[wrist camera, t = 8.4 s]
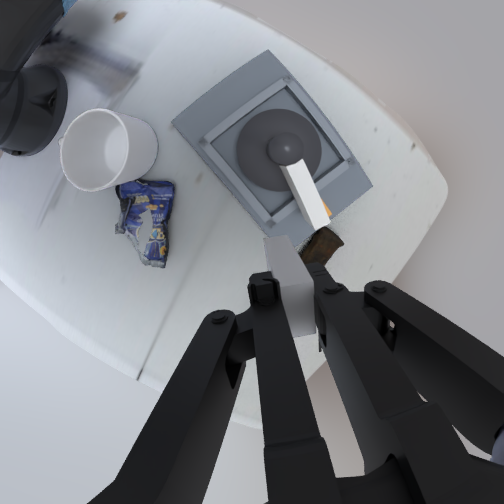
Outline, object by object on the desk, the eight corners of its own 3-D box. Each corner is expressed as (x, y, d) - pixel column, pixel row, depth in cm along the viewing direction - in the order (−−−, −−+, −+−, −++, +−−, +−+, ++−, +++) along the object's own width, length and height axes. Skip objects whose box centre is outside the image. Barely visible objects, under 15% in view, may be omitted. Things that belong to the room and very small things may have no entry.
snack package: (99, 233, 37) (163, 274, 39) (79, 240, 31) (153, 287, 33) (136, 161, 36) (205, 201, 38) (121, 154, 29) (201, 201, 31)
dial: (222, 132, 30) (218, 126, 24) (295, 99, 29) (309, 86, 23) (273, 229, 34) (280, 247, 28) (341, 196, 33) (363, 206, 27)
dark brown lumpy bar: (318, 220, 37) (328, 228, 33) (339, 236, 38) (350, 247, 34) (238, 318, 42) (238, 336, 38) (259, 330, 43) (261, 348, 39)
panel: (175, 124, 32) (167, 120, 28) (266, 55, 29) (269, 44, 25) (281, 249, 38) (286, 260, 34) (365, 183, 36) (379, 187, 32)
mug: (93, 111, 30) (49, 102, 20) (167, 124, 32) (139, 114, 22) (78, 169, 33) (33, 177, 23) (150, 187, 35) (117, 200, 25)
